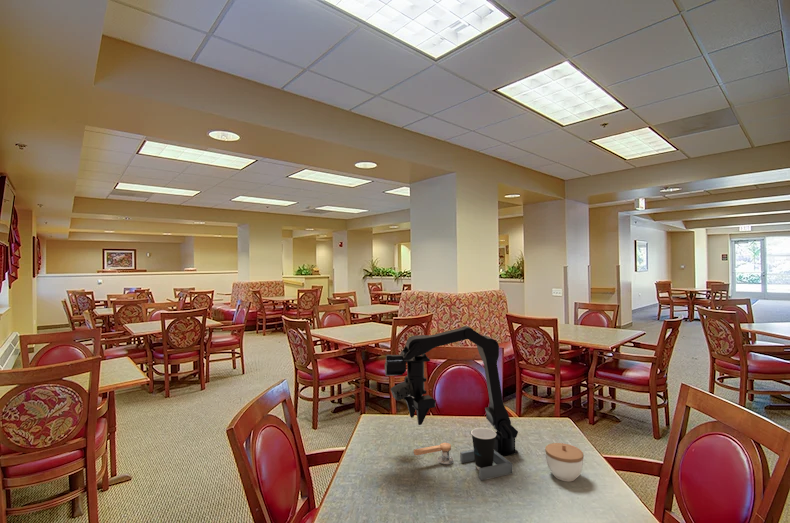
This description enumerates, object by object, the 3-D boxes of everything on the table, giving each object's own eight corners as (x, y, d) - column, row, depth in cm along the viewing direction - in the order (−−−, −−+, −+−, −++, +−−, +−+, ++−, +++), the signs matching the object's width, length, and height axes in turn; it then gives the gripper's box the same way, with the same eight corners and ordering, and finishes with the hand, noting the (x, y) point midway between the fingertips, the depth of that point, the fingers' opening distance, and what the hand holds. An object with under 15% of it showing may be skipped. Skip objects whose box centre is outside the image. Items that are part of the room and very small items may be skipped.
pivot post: (448, 456, 132) (448, 445, 132) (455, 463, 127) (455, 452, 127) (435, 458, 130) (435, 447, 130) (442, 466, 126) (442, 454, 126)
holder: (489, 455, 132) (489, 446, 132) (512, 473, 121) (512, 463, 121) (460, 461, 129) (460, 451, 129) (481, 480, 117) (481, 470, 117)
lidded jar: (581, 470, 122) (581, 440, 123) (586, 488, 112) (585, 455, 112) (544, 464, 126) (544, 435, 126) (546, 482, 116) (545, 450, 116)
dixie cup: (467, 469, 123) (467, 434, 123) (476, 459, 130) (475, 425, 130) (492, 476, 119) (492, 440, 119) (499, 465, 126) (499, 430, 126)
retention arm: (447, 445, 131) (447, 441, 131) (452, 450, 128) (452, 446, 128) (412, 451, 127) (412, 448, 127) (416, 457, 123) (416, 453, 123)
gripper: (384, 369, 138) (384, 414, 138) (403, 384, 120) (403, 435, 120) (413, 367, 142) (413, 410, 141) (436, 381, 124) (436, 430, 124)
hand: (415, 421), depth 132 cm, fingers open, 6 cm apart
